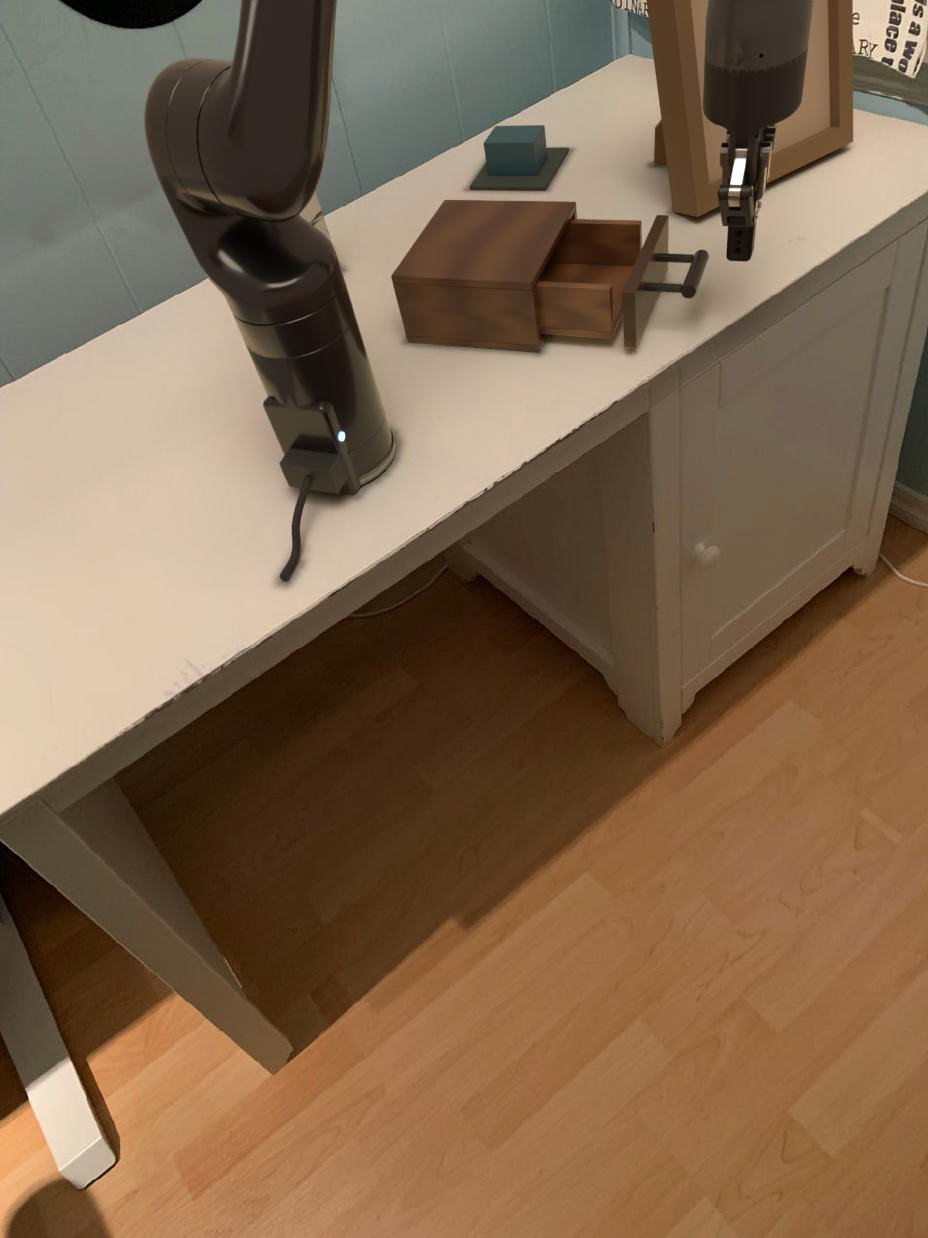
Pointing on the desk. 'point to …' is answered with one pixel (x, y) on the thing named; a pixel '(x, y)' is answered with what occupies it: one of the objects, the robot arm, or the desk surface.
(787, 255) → the desk surface
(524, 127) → the card box
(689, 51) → the photo frame
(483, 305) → the cabinet
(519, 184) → the mat
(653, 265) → the drawer
